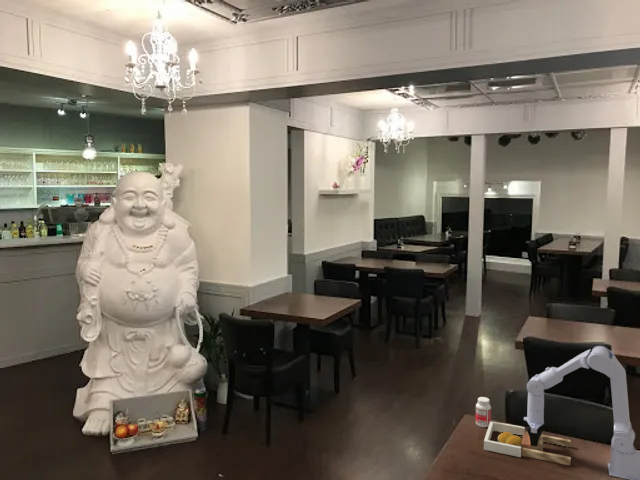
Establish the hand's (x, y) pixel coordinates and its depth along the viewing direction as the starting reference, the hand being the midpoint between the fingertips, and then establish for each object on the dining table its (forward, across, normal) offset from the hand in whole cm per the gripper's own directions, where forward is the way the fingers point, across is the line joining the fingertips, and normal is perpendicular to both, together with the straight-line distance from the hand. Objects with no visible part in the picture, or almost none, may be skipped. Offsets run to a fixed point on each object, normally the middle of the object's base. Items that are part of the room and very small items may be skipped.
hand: (534, 442), depth 192 cm
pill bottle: (+2, -12, -21) cm, 24 cm away
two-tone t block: (+2, 0, 0) cm, 2 cm away
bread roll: (+3, 0, -9) cm, 9 cm away
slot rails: (+2, 0, +4) cm, 5 cm away
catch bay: (+2, 0, -10) cm, 10 cm away
